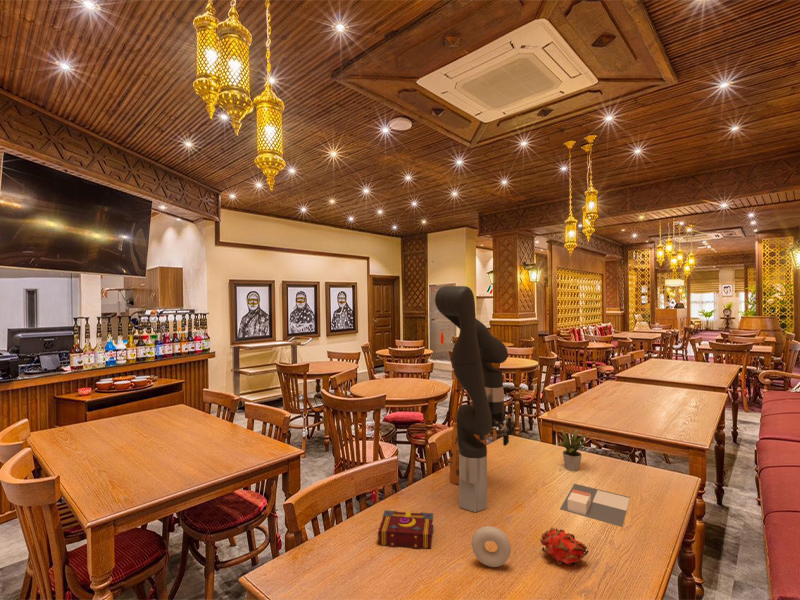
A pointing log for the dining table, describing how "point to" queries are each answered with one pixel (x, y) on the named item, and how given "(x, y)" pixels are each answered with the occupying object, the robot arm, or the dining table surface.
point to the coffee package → (455, 456)
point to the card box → (579, 501)
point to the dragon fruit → (563, 546)
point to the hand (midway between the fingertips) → (494, 442)
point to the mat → (602, 505)
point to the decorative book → (406, 529)
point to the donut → (486, 556)
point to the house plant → (572, 450)
